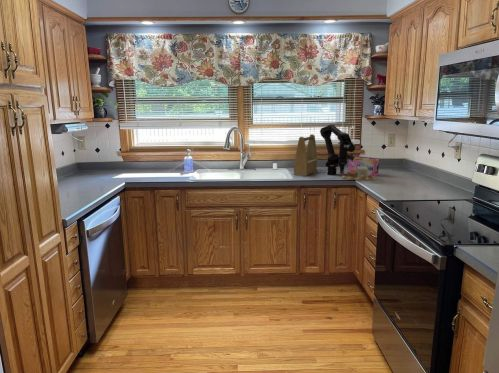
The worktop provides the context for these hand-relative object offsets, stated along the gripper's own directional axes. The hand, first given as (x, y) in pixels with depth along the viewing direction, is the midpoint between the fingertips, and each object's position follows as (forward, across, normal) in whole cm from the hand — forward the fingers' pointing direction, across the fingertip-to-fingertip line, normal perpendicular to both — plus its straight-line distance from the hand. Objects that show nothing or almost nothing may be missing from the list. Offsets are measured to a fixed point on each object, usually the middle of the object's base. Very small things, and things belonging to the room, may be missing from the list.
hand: (341, 171), depth 284 cm
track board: (+5, 0, -12) cm, 12 cm away
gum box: (+5, +20, -17) cm, 26 cm away
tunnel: (+3, 0, -15) cm, 15 cm away
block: (+2, 0, -8) cm, 8 cm away
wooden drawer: (+3, 0, -5) cm, 6 cm away
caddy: (+5, +13, +28) cm, 32 cm away
